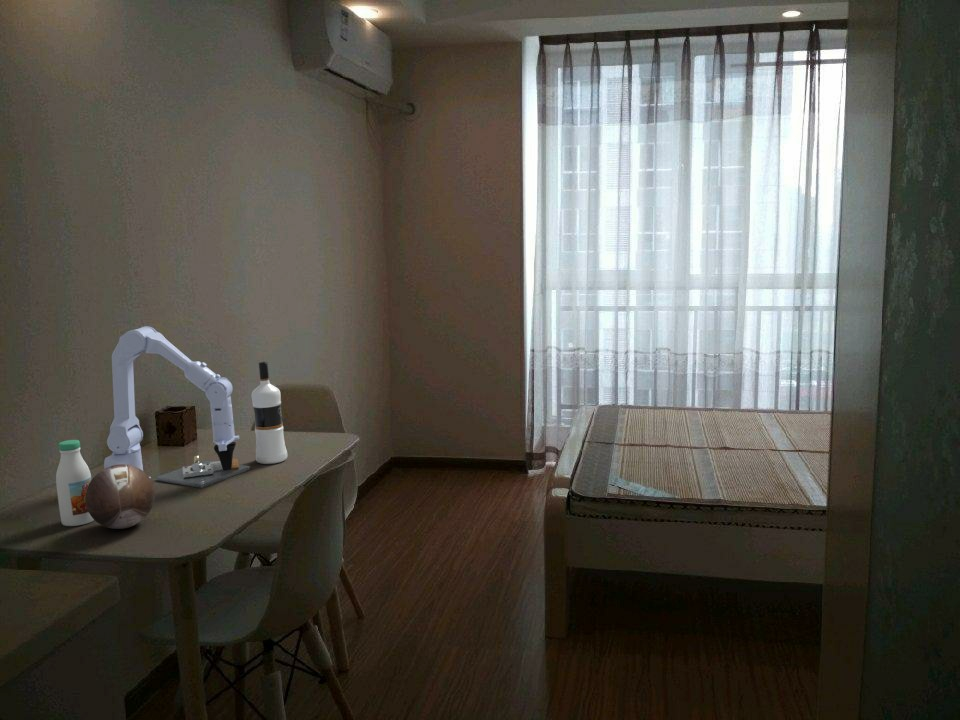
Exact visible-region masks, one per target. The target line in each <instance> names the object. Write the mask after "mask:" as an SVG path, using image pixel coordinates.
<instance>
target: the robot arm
mask: <svg viewBox="0 0 960 720" xmlns="http://www.w3.org/2000/svg"><path fill="white" fill-rule="evenodd" d="M144 352H145V354H157V355H160V356H161V357H163V358H164V359H166V360H168V361H169V362H170V363H172V364H173V365H175V366H176V367H178V368H179V369H181V370H182V371H183V374H184V377H185V379H187V380H188V381H189V382H190V383H192V384H193V385H194V386H196V387H197V388H198V389H200V390H201V391H202V392H205V393H204V394H205V397H206V398H207V399H208V401H209V406H210V416H211V428H212V436H213V437H212V442H213V443H214V446H213V450H214V452H215V454H217V456H218V457H217V458H218V459H219V461H220V462H221V465H222V468H223V470H231V467H232V459H233V457H234V456H233V455H234V451H235V448H236V446H237V445H236V443H237V442H235V441H237V440H240V435H235V433H236V432H235V425H234V424H235V423H234V414H233V406H232V397H231V395H232V394H233V390H234V387H233V384H232V382H231V381H230V380H229V378H227V377H221V375H220V374H219V373H217V374H216V372H214V371H213V370H211V369H210V368H209V367H207V366H208V364H207V363H206V362H204V361H203V362H201V361H198V360H197V361H193V360H191V359H190V358H189V357H188V356H186V354H184V353H183V352H182V351H180V349H179V348H178V347H176V346H174V344H172V343H171V342H170V341H169V340H168V339H167V338H165V336H164V335H163V334H162V333H161V332H159V331H157V330H156V329H155V328H154V327H151V326H148V325H147V326H146V325H145V326H141V327H139V328H136V329H130V330H128V331H126V332H125V333H124V334H122V335H120V336H119V341H118V343H117V345H116V346H115V348H114V350H113V352H112V354H111V371H112V391H113V393H112V394H113V395H112V396H113V414H114V417H113V420H112V423H111V424H110V427H109V435H108V437H107V439H106V444H107V448H109V450H110V451H112V453H111V454H110V455H109V456H107V457H105V459H104V461H103V469H105V468H107V467H110V466H113V465H119V464H126V465H131V466H135V467H137V468H139V469H141V470H142V471H144V468H143V467H144V466H143V458H142V450H141V449H142V447H141V445H140V444H141V442H142V440H143V439H144V438H143V437H144V432H143V430H142V427H141V426H140V420H139V418H138V417H137V416H136V405H135V404H136V401H135V381H134V380H135V378H134V377H135V375H134V361H135V360H136V358H138V357H139V356H140V355H141V354H142V353H144ZM149 478H150V479H151V480H152V477H151V476H149Z"/></svg>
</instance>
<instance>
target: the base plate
mask: <svg viewBox="0 0 960 720" xmlns="http://www.w3.org/2000/svg"><path fill="white" fill-rule="evenodd" d="M215 461H216V460H211V459H209V460H207V459H204V460H201V461H200V455H194V456H193V463H192V464H190V465H188V466H192V468H193V471H196V470H204V469H203V464H207V463H210V462H215ZM250 470H251V466H250V465H244V464H239V468H232V469H231V470H216V471H213V472H214V474H206V475H199V476H192V477H185V478H183V467H182V468H178V469H176V470H173V471H169V472H166V473H164V474H161V475H158V476H156V477H155V479H156V480H155V481H158V482H162V483H163V482H164V483H168V484H169V483H170V484H174V485H175V484H177V485H182V486H187V487H193V488H200V489H203V488H205V487H208V486H210V485H214V484H216V483H219V482H221V481H223V480H226V479H229V478H232V477H235V476H237V475H239V474H242V473H245V472H247V471H250Z"/></svg>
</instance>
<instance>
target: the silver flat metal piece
mask: <svg viewBox="0 0 960 720" xmlns="http://www.w3.org/2000/svg"><path fill="white" fill-rule="evenodd" d="M214 461H215V462H210V463H207V464H203V469H204V470H196V471H193V468H192V466H189V465H186V466H182V468H183V478H185V477H192V476H199V475H206V474H214V472H213V471H216V470H223V468H222V465H221V462H220V460H217V461H216V460H214ZM239 465H240V463H239V459H238V458H237V457H236V458H232V467H231V469H232V468H239Z"/></svg>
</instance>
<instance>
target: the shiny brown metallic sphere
mask: <svg viewBox="0 0 960 720" xmlns="http://www.w3.org/2000/svg"><path fill="white" fill-rule="evenodd" d="M149 477H150V476H149V475H148V474H147V473H146V472H145V471H144V470H143V471H142V470H141V469H139V468H137V467H135V466H131V465H126V464H119V465H113V466H110V467H107V468H105V469H104V468H103V469H102V470H100V471H99V472H97V473H96V474H95V475H94V476H93V477H92V478H91V479H92V480H91V482H90V483H89V485H88V487H87V490H86V496H85V502H86V507H87V510H88V512H89V514H90V515H91V517H92V518H93V519H94V520H93V521H95V522H96V523H97V524H98V525H101V526H103V527H105V528H108V529H114V530H120V529H121V530H123V529H128V528H131V527H134V526H136V525H137V524H139V523H141V522H142V521H143V520H144V519H145V518H146V517H147V516H148V515H149V514H150V512H151V510H152V509H153V506H154V504H155V499H156V491H155V490H156V489H155V485H154V483H153V481H152V478H151V479H150V478H149Z"/></svg>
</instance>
